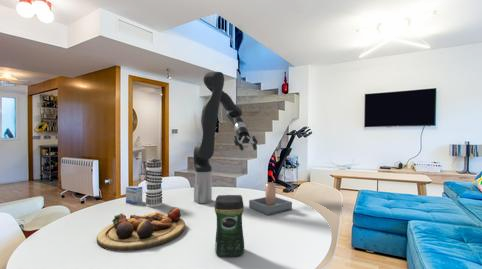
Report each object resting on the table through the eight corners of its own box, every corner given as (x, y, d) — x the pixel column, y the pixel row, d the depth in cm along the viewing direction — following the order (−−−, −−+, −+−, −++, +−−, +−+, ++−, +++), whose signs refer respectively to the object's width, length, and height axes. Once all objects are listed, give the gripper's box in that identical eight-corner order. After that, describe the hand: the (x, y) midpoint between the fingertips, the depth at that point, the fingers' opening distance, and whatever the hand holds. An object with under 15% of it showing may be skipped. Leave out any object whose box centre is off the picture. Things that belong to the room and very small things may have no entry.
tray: (268, 215, 115) (268, 207, 115) (249, 207, 128) (249, 200, 128) (291, 209, 124) (291, 201, 124) (272, 202, 137) (272, 195, 137)
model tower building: (144, 203, 136) (144, 158, 136) (161, 201, 140) (161, 157, 140) (145, 207, 128) (145, 159, 128) (163, 205, 132) (163, 159, 132)
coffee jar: (243, 246, 84) (243, 192, 84) (244, 258, 76) (244, 198, 76) (215, 246, 84) (215, 192, 84) (213, 258, 76) (213, 198, 76)
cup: (270, 208, 123) (270, 184, 123) (263, 206, 127) (263, 183, 127) (277, 207, 125) (277, 183, 126) (270, 204, 130) (271, 182, 130)
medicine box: (125, 202, 137) (125, 187, 137) (131, 200, 142) (131, 185, 142) (137, 203, 135) (137, 188, 135) (142, 201, 139) (142, 186, 139)
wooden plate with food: (181, 215, 117) (180, 198, 117) (190, 242, 87) (190, 219, 87) (105, 225, 106) (105, 206, 106) (86, 260, 76) (86, 233, 76)
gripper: (232, 126, 151) (240, 145, 140) (253, 126, 156) (261, 145, 146) (229, 134, 155) (236, 154, 145) (249, 134, 161) (257, 153, 151)
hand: (249, 149), depth 145 cm, fingers open, 8 cm apart
